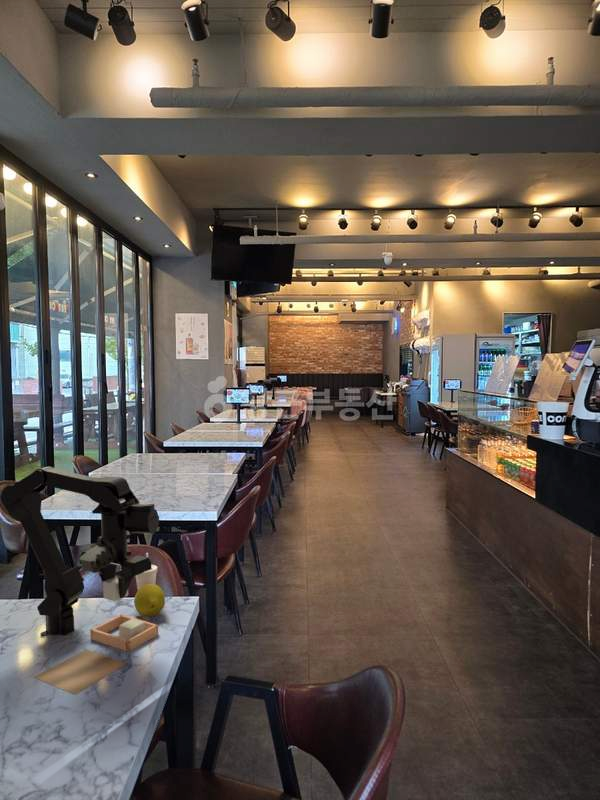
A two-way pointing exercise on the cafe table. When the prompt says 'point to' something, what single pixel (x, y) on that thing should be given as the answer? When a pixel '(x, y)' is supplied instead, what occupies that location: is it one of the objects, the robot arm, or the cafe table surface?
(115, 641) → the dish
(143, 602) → the lemon
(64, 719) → the cafe table surface
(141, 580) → the smoothie
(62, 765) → the cafe table surface
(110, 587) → the stone
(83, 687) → the board
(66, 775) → the cafe table surface
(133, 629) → the cream cube
